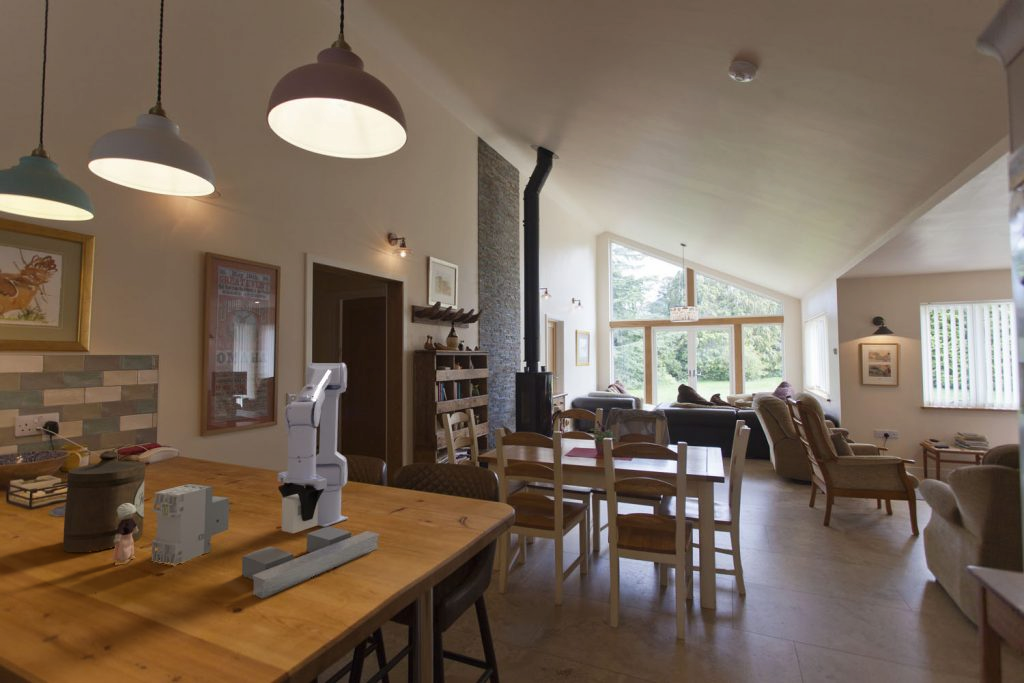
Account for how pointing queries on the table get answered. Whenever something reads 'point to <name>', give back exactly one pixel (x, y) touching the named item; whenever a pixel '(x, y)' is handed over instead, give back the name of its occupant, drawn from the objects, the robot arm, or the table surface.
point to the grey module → (295, 515)
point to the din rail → (313, 564)
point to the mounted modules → (275, 556)
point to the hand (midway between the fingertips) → (300, 518)
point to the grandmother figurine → (125, 534)
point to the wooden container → (101, 502)
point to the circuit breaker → (187, 522)
